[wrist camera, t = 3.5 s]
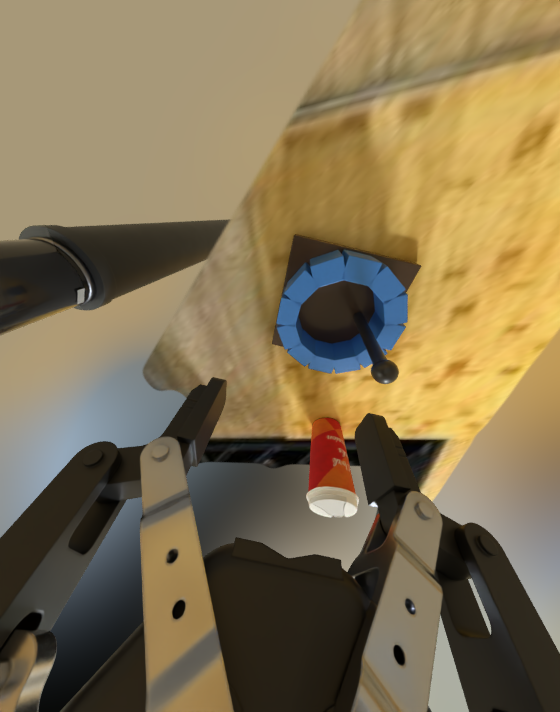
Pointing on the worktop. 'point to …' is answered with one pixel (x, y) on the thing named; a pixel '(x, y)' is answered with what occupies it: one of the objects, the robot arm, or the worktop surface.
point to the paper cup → (330, 472)
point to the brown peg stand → (344, 304)
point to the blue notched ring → (353, 352)
